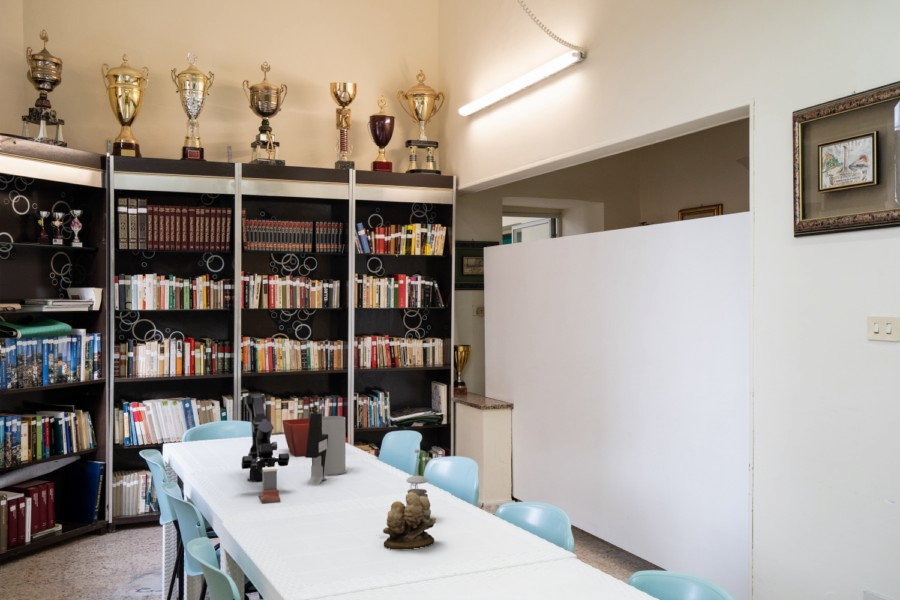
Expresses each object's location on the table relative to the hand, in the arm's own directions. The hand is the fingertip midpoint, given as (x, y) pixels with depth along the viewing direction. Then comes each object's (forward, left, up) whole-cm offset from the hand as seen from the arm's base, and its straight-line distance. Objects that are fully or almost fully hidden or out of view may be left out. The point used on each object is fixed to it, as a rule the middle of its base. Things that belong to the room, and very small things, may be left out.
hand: (267, 478), depth 322 cm
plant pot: (-77, -45, -7) cm, 89 cm away
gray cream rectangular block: (+4, +5, -5) cm, 8 cm away
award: (-30, +1, -7) cm, 31 cm away
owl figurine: (+24, +83, -7) cm, 87 cm away
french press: (-4, +68, -7) cm, 69 cm away
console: (+3, +4, -7) cm, 9 cm away
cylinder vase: (-48, -5, -7) cm, 49 cm away
